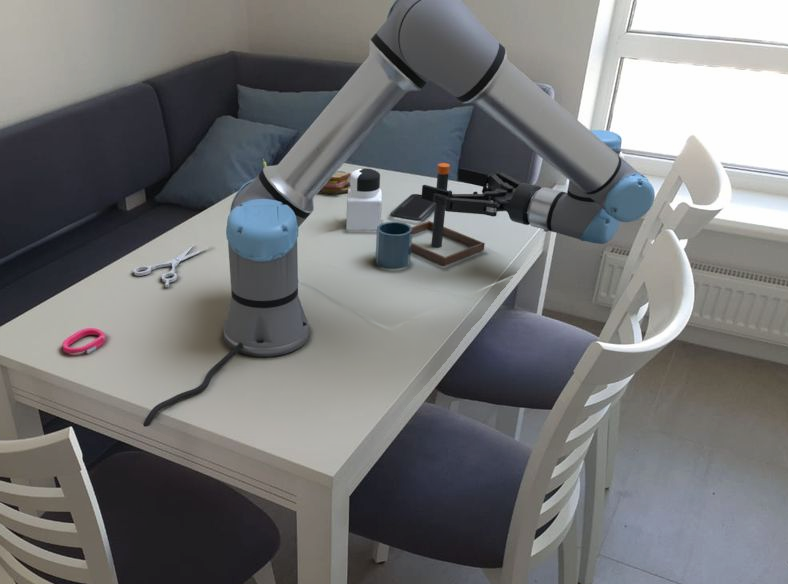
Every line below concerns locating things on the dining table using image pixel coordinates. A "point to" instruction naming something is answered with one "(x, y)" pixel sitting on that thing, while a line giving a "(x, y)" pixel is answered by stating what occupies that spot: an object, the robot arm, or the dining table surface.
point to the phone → (414, 208)
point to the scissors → (170, 263)
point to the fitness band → (88, 347)
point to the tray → (475, 244)
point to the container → (364, 200)
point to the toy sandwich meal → (338, 183)
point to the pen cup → (393, 244)
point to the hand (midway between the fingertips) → (441, 182)
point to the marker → (440, 206)
